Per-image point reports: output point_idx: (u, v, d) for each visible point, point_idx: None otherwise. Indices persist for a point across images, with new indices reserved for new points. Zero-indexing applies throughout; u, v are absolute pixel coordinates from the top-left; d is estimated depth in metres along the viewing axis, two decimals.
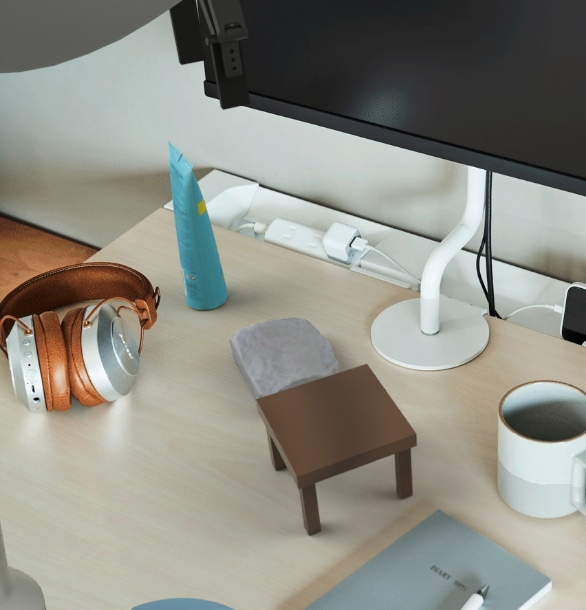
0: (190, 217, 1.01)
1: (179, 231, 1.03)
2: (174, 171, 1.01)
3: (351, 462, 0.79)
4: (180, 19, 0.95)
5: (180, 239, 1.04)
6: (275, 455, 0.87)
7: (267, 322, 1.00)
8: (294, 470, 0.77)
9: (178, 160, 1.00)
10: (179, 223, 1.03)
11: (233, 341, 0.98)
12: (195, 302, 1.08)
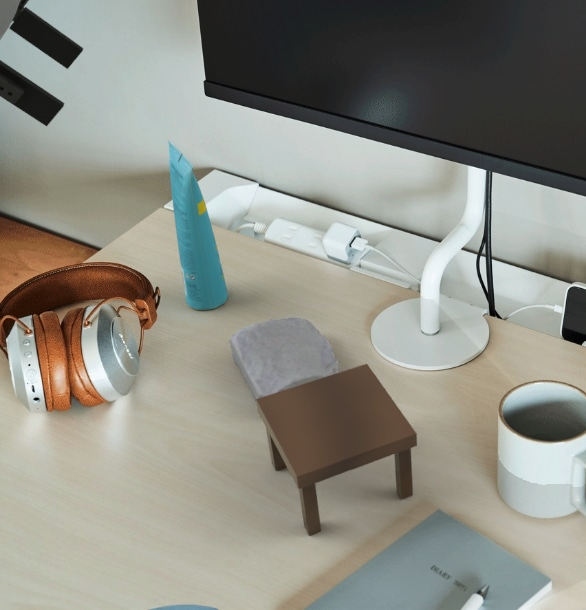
0: (190, 217, 1.01)
1: (179, 231, 1.03)
2: (174, 171, 1.01)
3: (351, 462, 0.79)
4: None
5: (180, 239, 1.04)
6: (275, 455, 0.87)
7: (267, 322, 1.00)
8: (294, 470, 0.77)
9: (178, 160, 1.00)
10: (179, 223, 1.03)
11: (233, 341, 0.98)
12: (195, 302, 1.08)
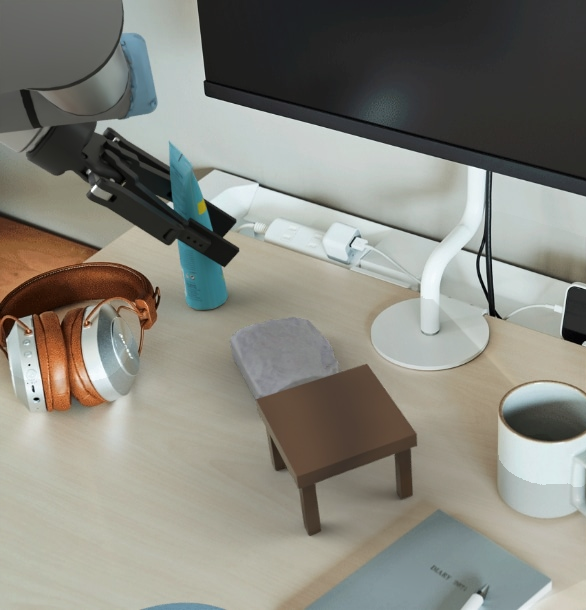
0: None
1: None
2: (174, 170, 1.01)
3: (351, 462, 0.79)
4: None
5: None
6: (275, 455, 0.87)
7: (267, 322, 1.00)
8: (294, 470, 0.77)
9: (178, 160, 1.00)
10: None
11: (233, 341, 0.98)
12: (195, 302, 1.08)
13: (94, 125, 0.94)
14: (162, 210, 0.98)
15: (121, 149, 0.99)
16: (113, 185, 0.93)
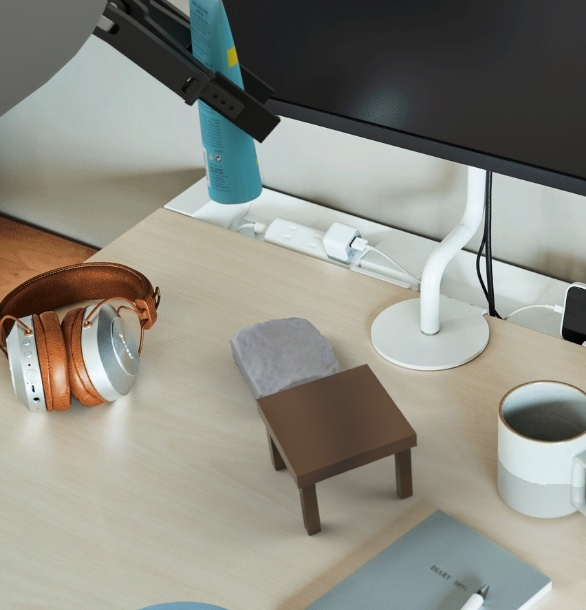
0: (218, 70, 0.76)
1: None
2: (196, 9, 0.76)
3: (351, 462, 0.79)
4: None
5: (203, 105, 0.79)
6: (275, 455, 0.87)
7: (267, 322, 1.00)
8: (294, 470, 0.77)
9: None
10: None
11: (233, 341, 0.98)
12: (221, 193, 0.83)
13: None
14: (180, 55, 0.73)
15: None
16: (115, 10, 0.68)
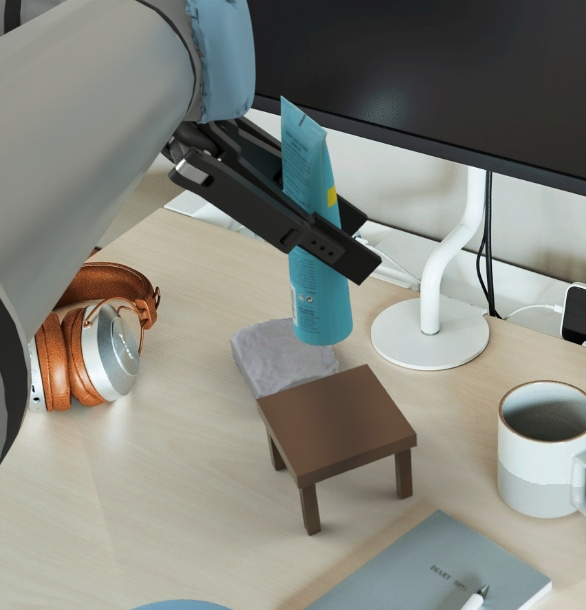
0: (316, 211, 0.67)
1: None
2: (291, 141, 0.67)
3: (351, 462, 0.79)
4: None
5: None
6: (275, 455, 0.87)
7: (267, 322, 1.00)
8: (294, 470, 0.77)
9: (299, 124, 0.66)
10: None
11: (233, 341, 0.98)
12: (310, 335, 0.74)
13: None
14: (277, 200, 0.64)
15: None
16: (210, 160, 0.59)
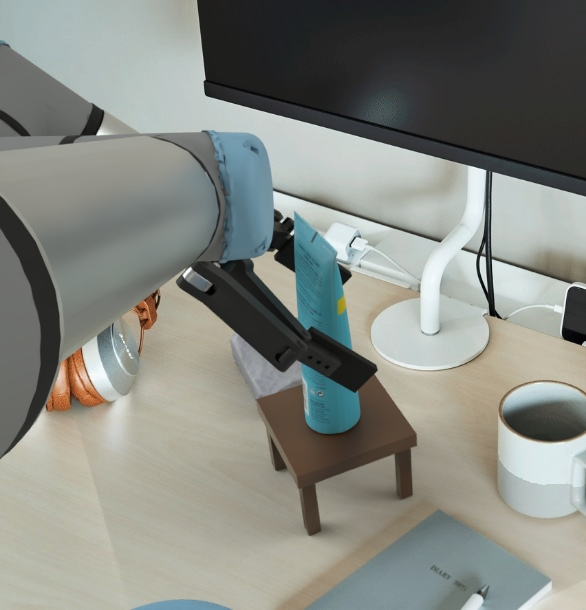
0: (326, 318, 0.73)
1: None
2: (303, 254, 0.73)
3: (351, 462, 0.79)
4: None
5: None
6: (275, 455, 0.87)
7: None
8: (294, 470, 0.77)
9: (311, 240, 0.71)
10: (307, 324, 0.74)
11: (233, 341, 0.98)
12: (320, 424, 0.80)
13: None
14: (276, 313, 0.67)
15: None
16: (215, 270, 0.64)
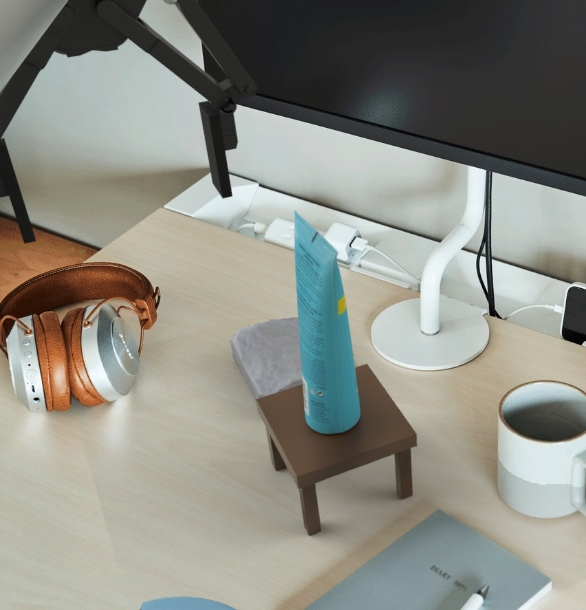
0: (327, 318, 0.73)
1: (306, 334, 0.75)
2: (304, 254, 0.73)
3: (351, 462, 0.79)
4: None
5: (307, 344, 0.76)
6: (275, 455, 0.87)
7: (267, 322, 1.00)
8: (294, 470, 0.77)
9: (312, 240, 0.71)
10: (307, 324, 0.74)
11: (233, 341, 0.98)
12: (320, 424, 0.80)
13: None
14: None
15: (126, 21, 0.58)
16: None
